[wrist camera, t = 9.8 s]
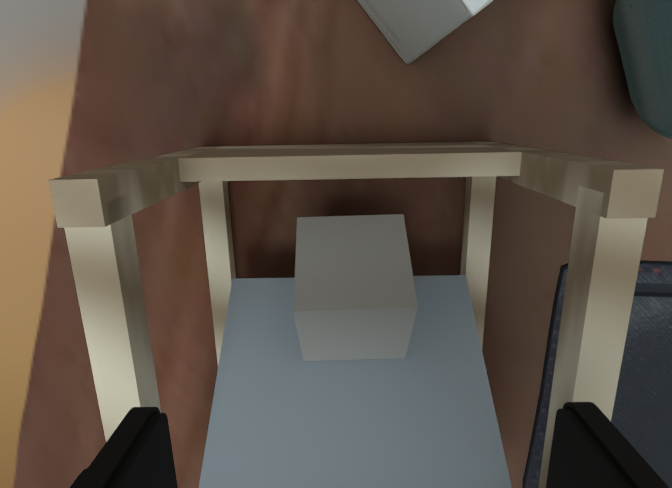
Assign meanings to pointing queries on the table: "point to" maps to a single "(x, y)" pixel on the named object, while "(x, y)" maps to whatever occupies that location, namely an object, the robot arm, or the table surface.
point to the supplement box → (419, 21)
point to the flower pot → (647, 58)
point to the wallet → (626, 374)
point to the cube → (353, 287)
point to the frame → (359, 163)
